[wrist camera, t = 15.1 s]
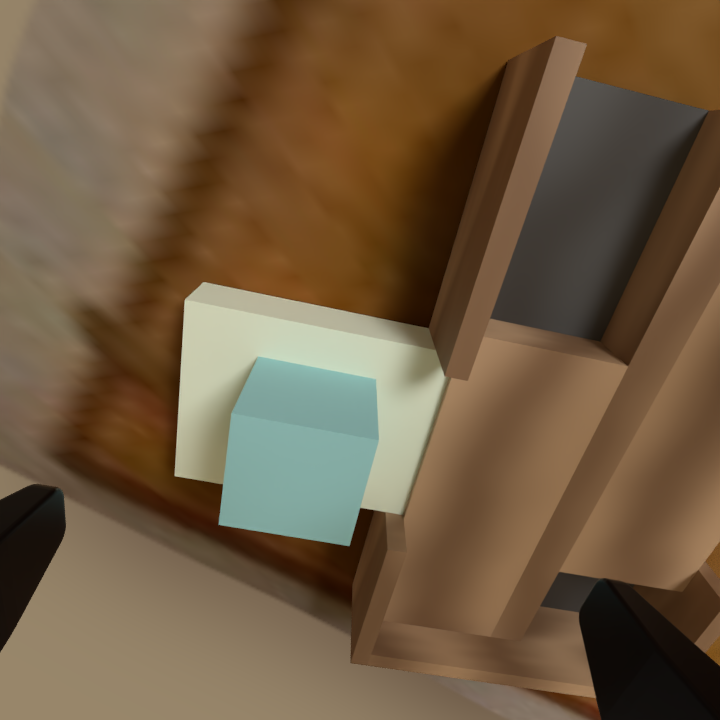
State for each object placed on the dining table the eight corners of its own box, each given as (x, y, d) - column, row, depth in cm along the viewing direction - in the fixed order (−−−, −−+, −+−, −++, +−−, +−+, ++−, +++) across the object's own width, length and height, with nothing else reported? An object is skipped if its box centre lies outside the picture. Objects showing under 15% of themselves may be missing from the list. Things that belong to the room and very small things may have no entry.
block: (376, 379, 18) (379, 440, 15) (351, 471, 20) (349, 546, 16) (258, 356, 18) (231, 413, 14) (245, 452, 20) (218, 524, 16)
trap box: (928, 168, 17) (1097, 179, 13) (618, 625, 27) (660, 707, 23) (508, 60, 16) (556, 35, 12) (352, 584, 26) (350, 663, 22)
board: (447, 332, 20) (456, 354, 18) (399, 481, 23) (403, 515, 21) (203, 282, 19) (184, 299, 17) (191, 445, 22) (174, 475, 20)
